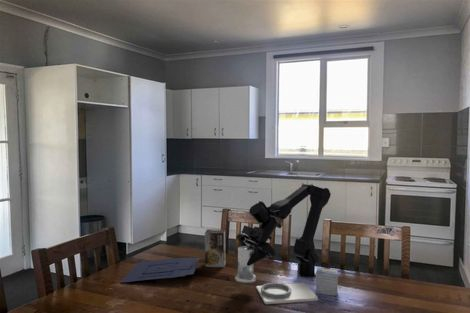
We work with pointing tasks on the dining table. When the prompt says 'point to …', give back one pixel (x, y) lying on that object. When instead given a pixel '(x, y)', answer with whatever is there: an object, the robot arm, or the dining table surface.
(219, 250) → the coffee box
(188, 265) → the papers
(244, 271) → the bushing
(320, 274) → the medicine box
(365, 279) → the dining table surface
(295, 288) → the locating plate
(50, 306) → the dining table surface
